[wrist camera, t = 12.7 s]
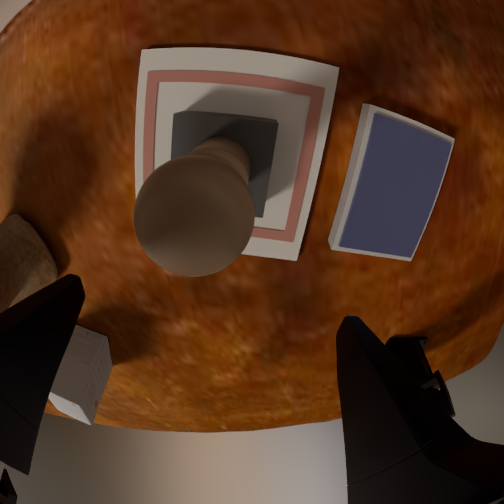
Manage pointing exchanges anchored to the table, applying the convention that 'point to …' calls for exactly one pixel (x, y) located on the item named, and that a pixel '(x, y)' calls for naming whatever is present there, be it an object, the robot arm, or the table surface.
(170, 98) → the board
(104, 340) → the small box
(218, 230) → the stamp
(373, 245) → the ink pad
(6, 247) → the stone cup
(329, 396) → the table surface
